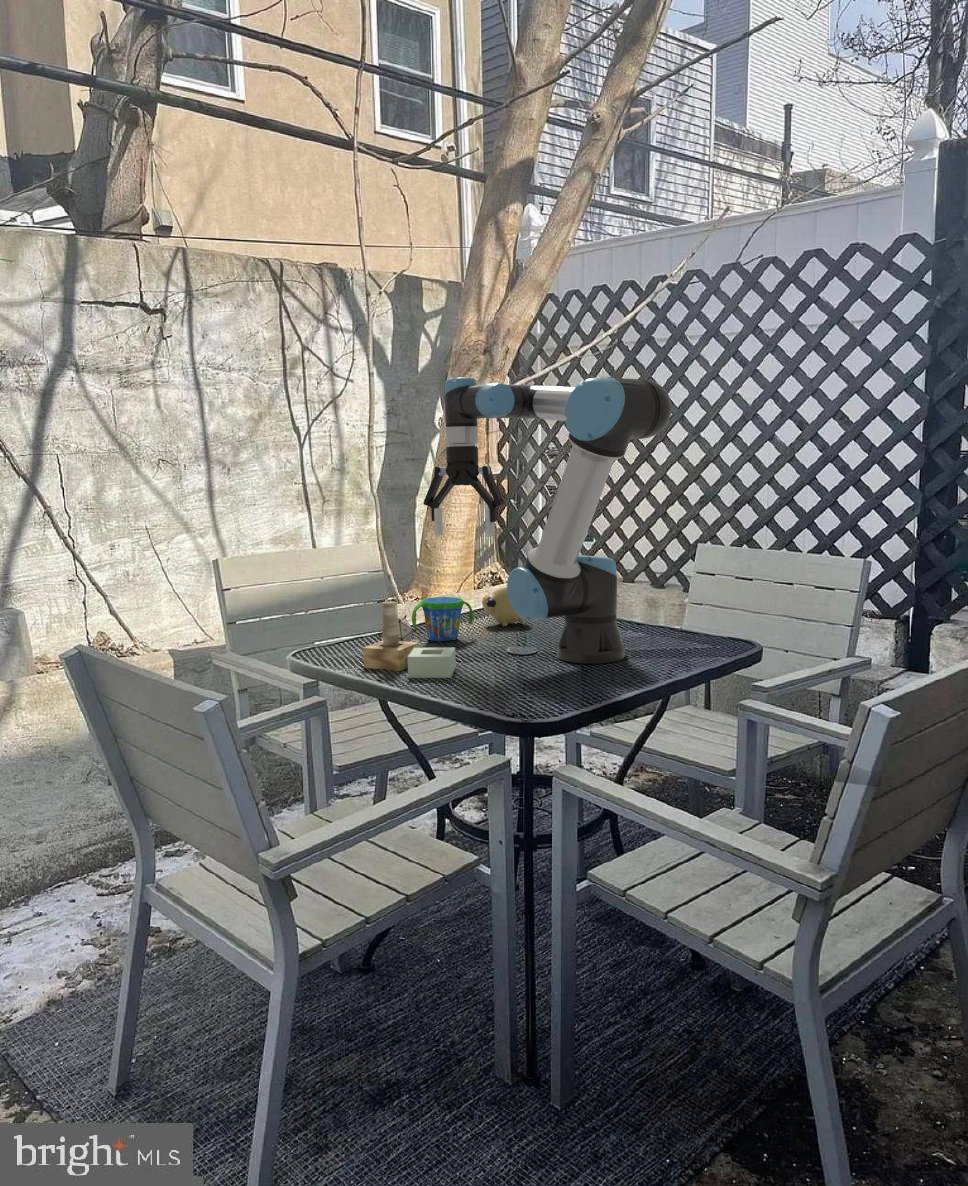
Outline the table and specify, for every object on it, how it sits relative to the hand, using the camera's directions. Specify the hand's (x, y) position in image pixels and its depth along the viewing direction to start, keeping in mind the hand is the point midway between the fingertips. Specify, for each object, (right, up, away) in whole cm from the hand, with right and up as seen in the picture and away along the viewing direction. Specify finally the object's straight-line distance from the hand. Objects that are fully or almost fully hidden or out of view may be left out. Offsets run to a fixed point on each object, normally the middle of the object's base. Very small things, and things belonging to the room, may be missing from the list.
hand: (464, 535), depth 220 cm
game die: (-16, -27, +2) cm, 32 cm away
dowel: (-16, -30, -15) cm, 37 cm away
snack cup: (-6, -26, +12) cm, 29 cm away
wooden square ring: (-16, -30, -15) cm, 37 cm away
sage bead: (-6, -31, -23) cm, 39 cm away
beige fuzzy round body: (+10, -22, +30) cm, 39 cm away
